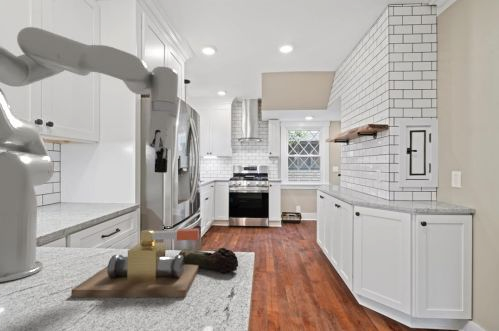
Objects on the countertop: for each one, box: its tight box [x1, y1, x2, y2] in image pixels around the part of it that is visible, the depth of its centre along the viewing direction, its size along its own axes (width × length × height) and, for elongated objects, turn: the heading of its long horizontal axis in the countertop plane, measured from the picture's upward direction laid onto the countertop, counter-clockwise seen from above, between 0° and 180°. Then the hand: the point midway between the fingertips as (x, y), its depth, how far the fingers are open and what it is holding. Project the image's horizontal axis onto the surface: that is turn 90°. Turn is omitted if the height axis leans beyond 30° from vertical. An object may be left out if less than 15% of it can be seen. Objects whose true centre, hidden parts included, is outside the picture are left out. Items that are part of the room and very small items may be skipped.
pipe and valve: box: [107, 241, 184, 282], centre depth 62 cm, size 16×7×7 cm, turn 90°
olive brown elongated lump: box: [178, 247, 239, 275], centre depth 72 cm, size 18×7×6 cm, turn 66°
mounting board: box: [70, 265, 200, 298], centre depth 62 cm, size 24×15×2 cm, turn 90°
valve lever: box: [140, 228, 200, 247], centre depth 63 cm, size 14×3×3 cm, turn 98°
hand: (160, 172), depth 76 cm, fingers closed
